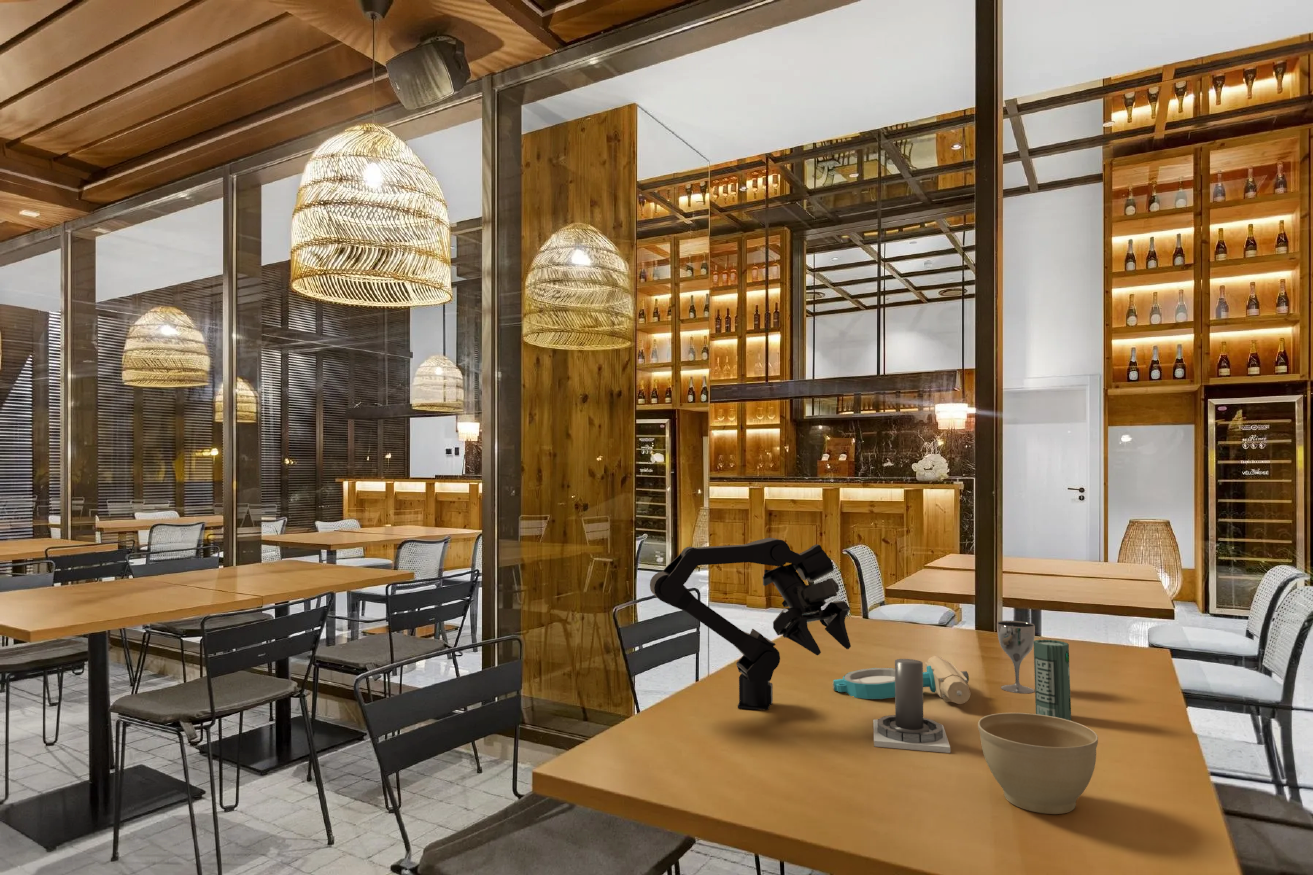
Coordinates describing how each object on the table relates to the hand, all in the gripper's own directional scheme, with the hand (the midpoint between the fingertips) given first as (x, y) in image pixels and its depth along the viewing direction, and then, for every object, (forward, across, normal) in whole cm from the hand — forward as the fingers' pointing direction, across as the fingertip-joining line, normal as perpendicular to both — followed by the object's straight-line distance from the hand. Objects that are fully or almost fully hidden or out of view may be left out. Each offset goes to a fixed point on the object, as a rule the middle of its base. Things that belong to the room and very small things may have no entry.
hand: (834, 650), depth 155 cm
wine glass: (+17, +51, +2) cm, 54 cm away
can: (+28, +36, -9) cm, 47 cm away
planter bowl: (+41, -7, -22) cm, 47 cm away
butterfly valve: (+7, +26, +12) cm, 30 cm away
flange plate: (+21, +2, -2) cm, 21 cm away
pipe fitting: (+20, +2, -2) cm, 20 cm away
